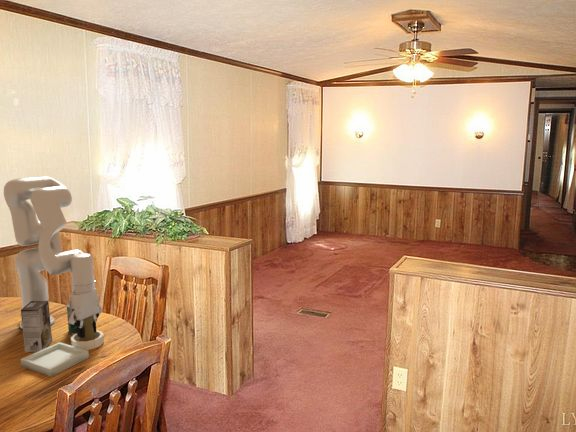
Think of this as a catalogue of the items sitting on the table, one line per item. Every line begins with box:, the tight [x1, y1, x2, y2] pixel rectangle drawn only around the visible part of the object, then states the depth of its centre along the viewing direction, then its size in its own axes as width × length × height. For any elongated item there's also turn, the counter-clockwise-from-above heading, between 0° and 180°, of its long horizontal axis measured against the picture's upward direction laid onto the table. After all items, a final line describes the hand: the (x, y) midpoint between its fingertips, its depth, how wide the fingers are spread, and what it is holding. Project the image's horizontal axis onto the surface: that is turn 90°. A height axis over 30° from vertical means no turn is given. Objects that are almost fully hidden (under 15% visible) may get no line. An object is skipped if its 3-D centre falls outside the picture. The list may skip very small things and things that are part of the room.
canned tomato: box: [66, 302, 77, 335], centre depth 190 cm, size 8×8×11 cm
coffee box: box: [20, 300, 53, 353], centre depth 175 cm, size 9×6×16 cm
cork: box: [79, 316, 96, 341], centre depth 178 cm, size 6×6×11 cm
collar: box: [70, 329, 105, 351], centre depth 179 cm, size 11×11×3 cm
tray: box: [20, 341, 90, 377], centre depth 165 cm, size 15×15×2 cm
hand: (87, 333), depth 179 cm, fingers closed on cork, 4 cm apart
